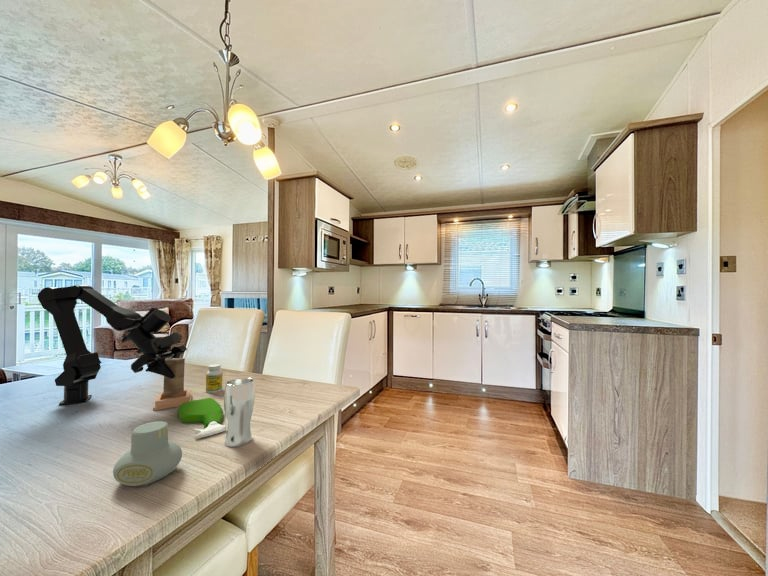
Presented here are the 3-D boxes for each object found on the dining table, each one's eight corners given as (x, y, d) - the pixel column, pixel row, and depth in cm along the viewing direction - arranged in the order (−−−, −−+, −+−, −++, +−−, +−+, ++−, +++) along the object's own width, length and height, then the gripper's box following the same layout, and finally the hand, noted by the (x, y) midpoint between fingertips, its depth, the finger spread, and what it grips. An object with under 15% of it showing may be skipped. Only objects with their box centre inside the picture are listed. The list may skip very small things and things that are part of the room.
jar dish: (156, 400, 102) (157, 392, 102) (191, 395, 107) (192, 388, 107) (152, 410, 93) (153, 402, 93) (190, 404, 98) (191, 397, 98)
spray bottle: (215, 404, 100) (236, 432, 81) (175, 413, 92) (188, 445, 74) (215, 396, 100) (236, 421, 81) (175, 403, 92) (189, 433, 74)
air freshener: (188, 463, 65) (190, 417, 65) (165, 488, 57) (167, 435, 57) (134, 466, 64) (135, 419, 64) (102, 491, 55) (104, 437, 56)
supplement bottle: (221, 387, 116) (222, 363, 116) (222, 391, 111) (223, 366, 112) (205, 390, 113) (206, 364, 113) (206, 394, 108) (206, 367, 109)
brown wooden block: (163, 397, 98) (164, 360, 98) (171, 393, 102) (173, 358, 102) (175, 397, 98) (176, 360, 98) (183, 393, 102) (184, 358, 102)
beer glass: (230, 434, 78) (231, 377, 78) (257, 434, 79) (258, 377, 79) (217, 448, 71) (219, 385, 72) (247, 447, 72) (249, 385, 72)
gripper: (141, 328, 91) (176, 365, 91) (182, 322, 110) (211, 353, 110) (114, 354, 91) (149, 391, 91) (160, 343, 110) (189, 374, 109)
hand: (178, 375), depth 100 cm, fingers closed on brown wooden block, 4 cm apart
